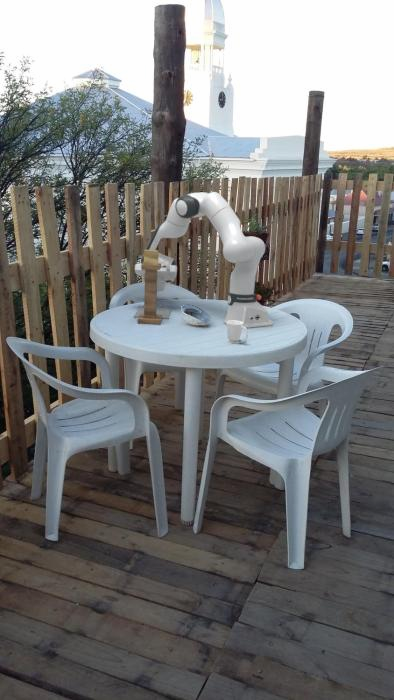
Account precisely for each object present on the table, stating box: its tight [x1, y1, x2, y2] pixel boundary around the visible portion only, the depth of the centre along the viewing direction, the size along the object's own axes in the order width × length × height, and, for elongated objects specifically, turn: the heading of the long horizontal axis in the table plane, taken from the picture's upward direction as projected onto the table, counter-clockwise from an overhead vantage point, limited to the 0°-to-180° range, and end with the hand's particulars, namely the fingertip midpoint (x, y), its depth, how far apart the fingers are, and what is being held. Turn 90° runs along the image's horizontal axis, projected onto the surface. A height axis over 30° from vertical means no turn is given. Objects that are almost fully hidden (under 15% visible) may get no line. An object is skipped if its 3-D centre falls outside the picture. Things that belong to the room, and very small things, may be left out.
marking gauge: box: [143, 249, 159, 265], centre depth 254 cm, size 16×6×6 cm, turn 179°
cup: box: [225, 320, 249, 344], centre depth 230 cm, size 7×10×8 cm
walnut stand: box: [137, 262, 163, 326], centre depth 254 cm, size 10×10×26 cm
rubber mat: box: [133, 305, 172, 320], centre depth 274 cm, size 22×16×1 cm
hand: (155, 264), depth 267 cm, fingers open, 8 cm apart
